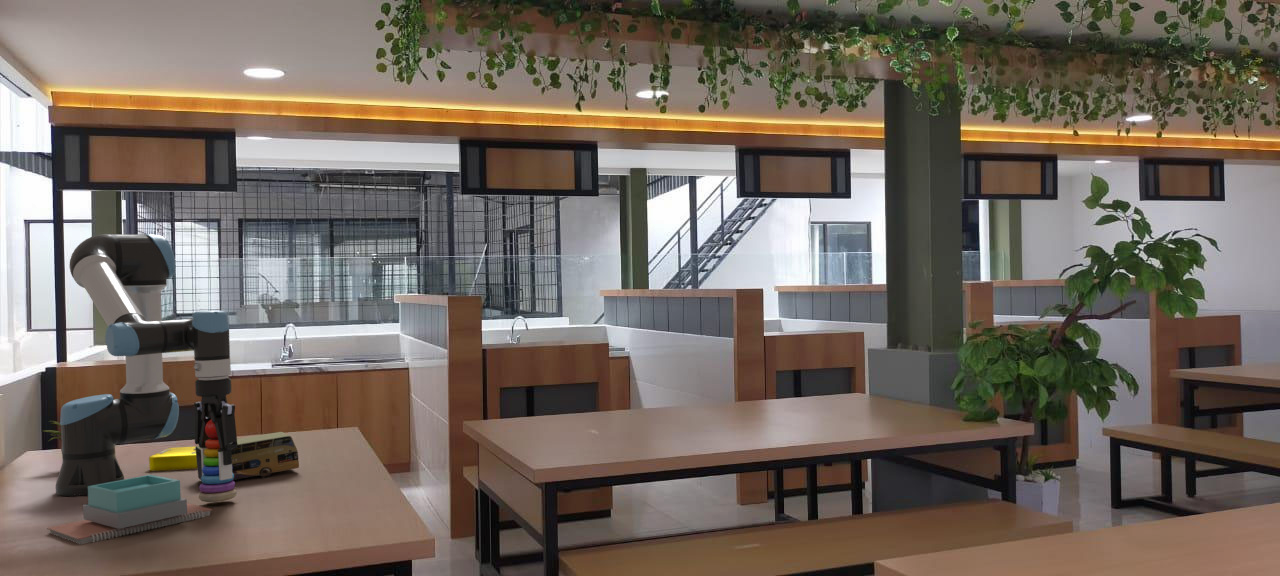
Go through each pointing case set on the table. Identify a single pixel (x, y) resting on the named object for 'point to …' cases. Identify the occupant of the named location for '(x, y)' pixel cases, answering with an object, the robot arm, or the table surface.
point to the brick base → (135, 514)
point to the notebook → (95, 531)
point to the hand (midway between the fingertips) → (217, 477)
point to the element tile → (174, 459)
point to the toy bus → (260, 455)
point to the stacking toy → (214, 471)
